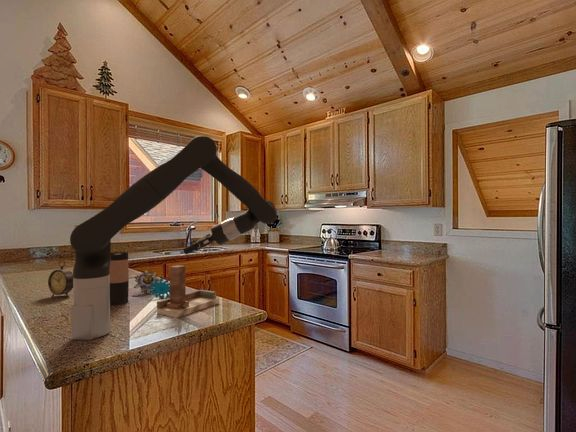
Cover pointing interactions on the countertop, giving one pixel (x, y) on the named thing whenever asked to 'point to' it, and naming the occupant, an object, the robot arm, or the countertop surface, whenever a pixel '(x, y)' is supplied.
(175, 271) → the panel
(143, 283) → the passion flower
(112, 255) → the travel mug
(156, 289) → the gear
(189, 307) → the board
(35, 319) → the countertop surface
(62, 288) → the alarm clock
